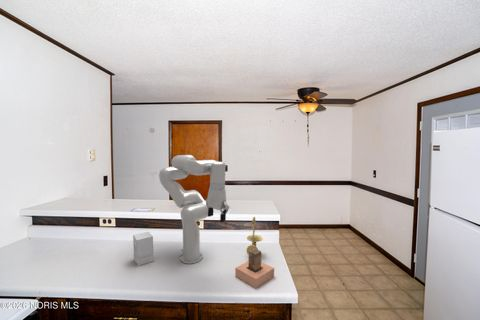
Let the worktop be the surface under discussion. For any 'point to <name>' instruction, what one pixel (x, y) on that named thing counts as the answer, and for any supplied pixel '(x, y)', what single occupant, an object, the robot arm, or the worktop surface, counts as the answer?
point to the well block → (254, 274)
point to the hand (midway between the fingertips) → (216, 218)
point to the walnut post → (254, 260)
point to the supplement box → (143, 248)
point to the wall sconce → (253, 239)
